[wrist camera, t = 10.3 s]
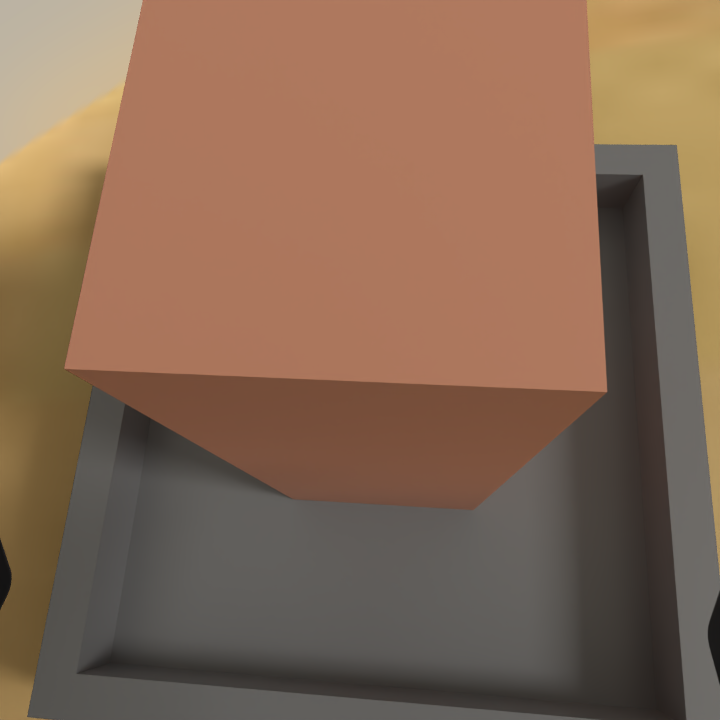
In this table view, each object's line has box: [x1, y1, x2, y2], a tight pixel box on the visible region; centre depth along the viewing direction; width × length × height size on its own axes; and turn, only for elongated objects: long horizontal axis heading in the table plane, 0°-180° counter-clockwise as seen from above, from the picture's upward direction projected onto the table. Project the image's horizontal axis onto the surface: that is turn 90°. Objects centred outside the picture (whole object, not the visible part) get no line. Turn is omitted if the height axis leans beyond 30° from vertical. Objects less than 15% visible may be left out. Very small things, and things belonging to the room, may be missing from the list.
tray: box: [27, 144, 720, 720], centre depth 18 cm, size 16×16×3 cm
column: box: [64, 0, 607, 510], centre depth 13 cm, size 5×5×12 cm
